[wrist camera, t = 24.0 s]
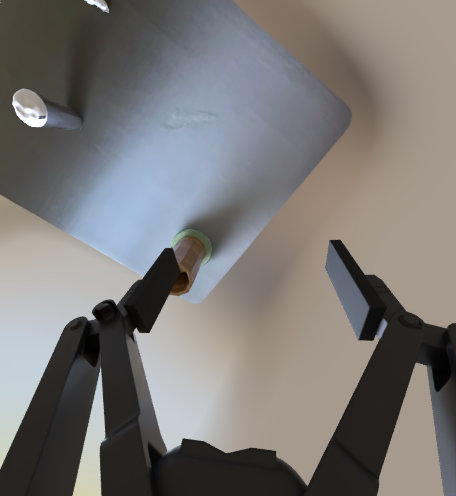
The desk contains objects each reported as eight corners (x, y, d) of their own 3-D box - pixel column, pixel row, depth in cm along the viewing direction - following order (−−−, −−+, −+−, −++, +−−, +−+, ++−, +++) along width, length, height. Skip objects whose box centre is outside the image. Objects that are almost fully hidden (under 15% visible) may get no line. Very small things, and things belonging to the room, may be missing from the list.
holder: (219, 240, 43) (213, 258, 35) (201, 271, 47) (193, 294, 38) (181, 221, 42) (166, 235, 34) (166, 254, 45) (149, 274, 37)
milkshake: (87, 141, 37) (36, 134, 28) (59, 125, 37) (-2, 112, 27) (93, 116, 36) (41, 100, 26) (64, 99, 35) (0, 76, 26)
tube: (210, 244, 42) (199, 272, 31) (197, 268, 45) (183, 301, 34) (183, 230, 42) (161, 254, 31) (171, 255, 44) (148, 285, 33)
